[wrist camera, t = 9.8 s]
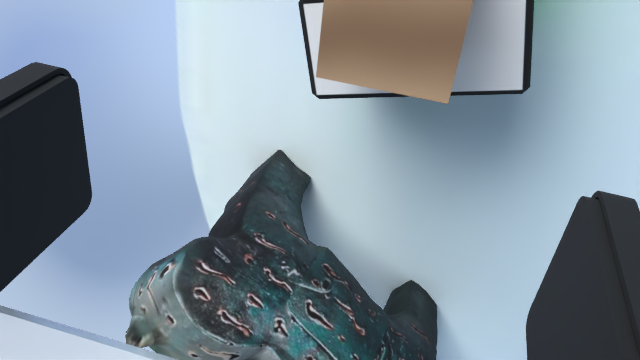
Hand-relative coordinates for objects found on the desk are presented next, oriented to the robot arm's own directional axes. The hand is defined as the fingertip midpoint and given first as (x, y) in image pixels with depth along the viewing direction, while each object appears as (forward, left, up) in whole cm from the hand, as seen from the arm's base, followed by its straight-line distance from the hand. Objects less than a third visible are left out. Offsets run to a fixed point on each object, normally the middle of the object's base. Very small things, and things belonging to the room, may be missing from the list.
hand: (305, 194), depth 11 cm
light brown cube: (0, 0, -16) cm, 16 cm away
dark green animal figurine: (+21, -2, -26) cm, 34 cm away
